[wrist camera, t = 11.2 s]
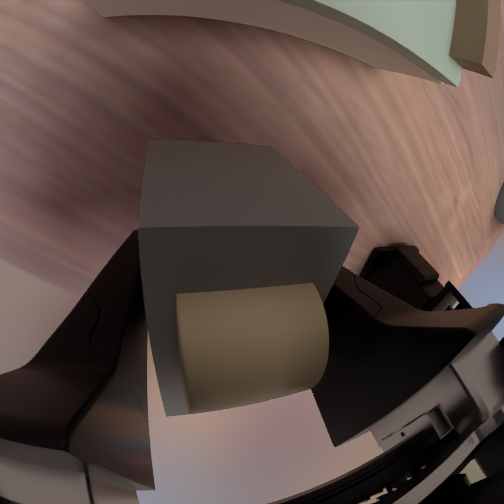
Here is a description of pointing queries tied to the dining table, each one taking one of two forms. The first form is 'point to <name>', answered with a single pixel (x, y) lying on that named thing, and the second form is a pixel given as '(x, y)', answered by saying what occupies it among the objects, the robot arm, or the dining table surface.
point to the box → (275, 26)
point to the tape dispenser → (235, 273)
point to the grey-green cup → (500, 206)
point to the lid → (425, 31)
